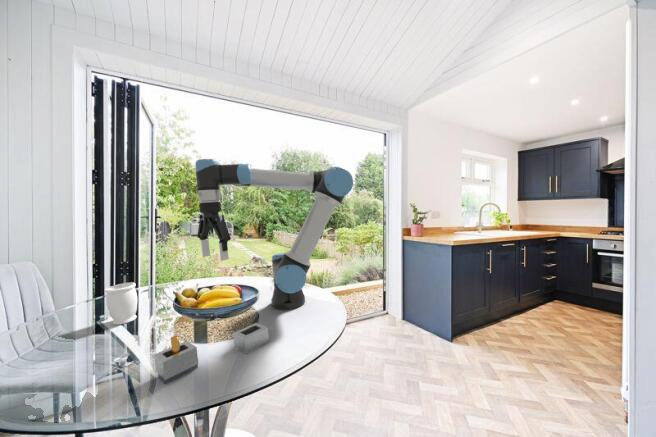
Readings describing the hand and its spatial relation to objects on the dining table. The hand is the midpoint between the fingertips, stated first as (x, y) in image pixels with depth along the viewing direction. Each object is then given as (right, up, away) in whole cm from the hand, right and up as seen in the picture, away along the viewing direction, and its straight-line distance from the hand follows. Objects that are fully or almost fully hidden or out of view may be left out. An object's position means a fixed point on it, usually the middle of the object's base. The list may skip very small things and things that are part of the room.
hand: (215, 258), depth 109 cm
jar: (-43, -28, +13) cm, 53 cm away
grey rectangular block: (0, -28, -26) cm, 38 cm away
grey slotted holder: (+17, -27, -13) cm, 35 cm away
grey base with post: (0, -29, -26) cm, 39 cm away
